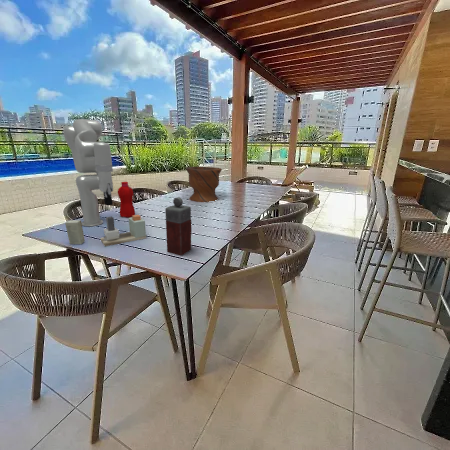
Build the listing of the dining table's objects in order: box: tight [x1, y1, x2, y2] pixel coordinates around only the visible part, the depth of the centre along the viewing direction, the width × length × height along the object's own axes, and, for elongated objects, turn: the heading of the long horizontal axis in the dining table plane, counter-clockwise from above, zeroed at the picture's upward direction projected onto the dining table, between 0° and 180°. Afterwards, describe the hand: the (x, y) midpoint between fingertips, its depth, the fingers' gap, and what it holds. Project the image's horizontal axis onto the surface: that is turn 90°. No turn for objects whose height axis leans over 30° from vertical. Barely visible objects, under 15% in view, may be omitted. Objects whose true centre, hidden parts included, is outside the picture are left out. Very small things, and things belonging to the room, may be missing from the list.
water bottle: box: [117, 181, 136, 219], centre depth 177 cm, size 9×11×25 cm
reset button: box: [131, 214, 142, 221], centre depth 141 cm, size 4×4×3 cm
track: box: [99, 231, 147, 247], centre depth 139 cm, size 10×22×4 cm, turn 127°
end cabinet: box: [128, 217, 147, 238], centre depth 142 cm, size 10×6×9 cm, turn 37°
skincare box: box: [64, 219, 86, 245], centre depth 131 cm, size 6×4×12 cm
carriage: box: [103, 216, 120, 240], centre depth 134 cm, size 7×6×12 cm
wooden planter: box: [185, 166, 223, 203], centre depth 239 cm, size 34×35×29 cm
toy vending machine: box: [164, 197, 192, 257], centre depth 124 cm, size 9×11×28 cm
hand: (108, 204), depth 129 cm, fingers closed
